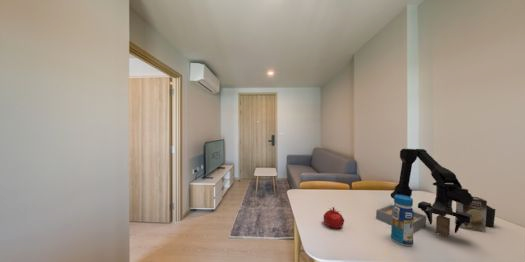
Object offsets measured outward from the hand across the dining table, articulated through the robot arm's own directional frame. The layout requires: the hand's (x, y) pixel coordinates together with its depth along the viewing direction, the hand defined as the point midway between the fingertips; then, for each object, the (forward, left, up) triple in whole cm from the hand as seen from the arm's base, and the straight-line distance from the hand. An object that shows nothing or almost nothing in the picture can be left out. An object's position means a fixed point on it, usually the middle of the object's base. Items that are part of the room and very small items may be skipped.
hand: (442, 228), depth 92 cm
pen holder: (-35, +7, -3) cm, 36 cm away
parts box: (+5, -16, -2) cm, 17 cm away
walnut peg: (0, 0, -3) cm, 3 cm away
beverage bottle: (+26, -7, -3) cm, 27 cm away
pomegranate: (+42, -31, -3) cm, 52 cm away
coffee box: (-22, +5, -3) cm, 23 cm away
